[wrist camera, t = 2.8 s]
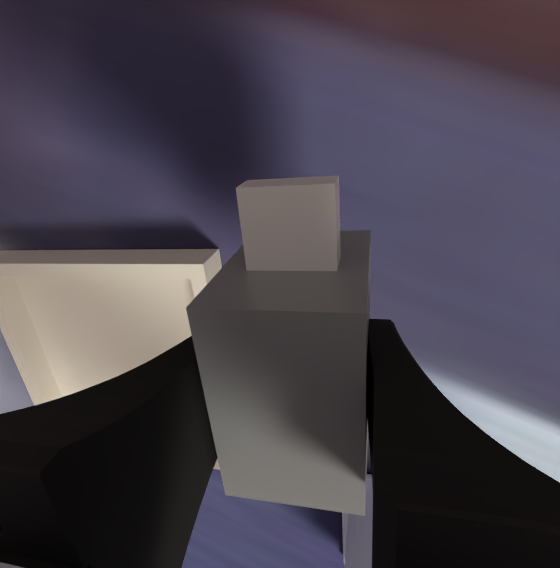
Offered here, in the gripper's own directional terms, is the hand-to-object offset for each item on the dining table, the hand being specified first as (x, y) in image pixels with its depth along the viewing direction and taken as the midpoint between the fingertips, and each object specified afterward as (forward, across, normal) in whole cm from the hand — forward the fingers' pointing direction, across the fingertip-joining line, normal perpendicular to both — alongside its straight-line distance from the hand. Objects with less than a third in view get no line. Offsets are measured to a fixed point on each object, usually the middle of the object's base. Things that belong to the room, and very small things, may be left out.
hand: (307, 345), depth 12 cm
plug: (+2, 0, 0) cm, 2 cm away
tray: (+8, +13, +7) cm, 17 cm away
